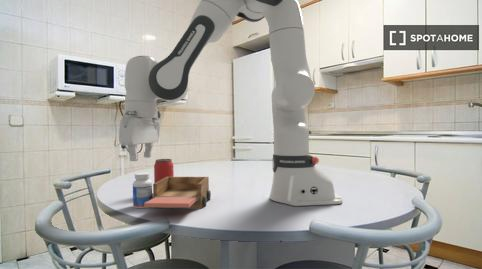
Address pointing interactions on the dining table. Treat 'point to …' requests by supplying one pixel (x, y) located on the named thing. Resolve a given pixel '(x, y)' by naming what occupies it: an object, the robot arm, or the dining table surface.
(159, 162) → the beer can
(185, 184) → the truck bed
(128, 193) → the dining table surface
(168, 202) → the tailgate
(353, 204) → the dining table surface
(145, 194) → the pill bottle
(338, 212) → the dining table surface
